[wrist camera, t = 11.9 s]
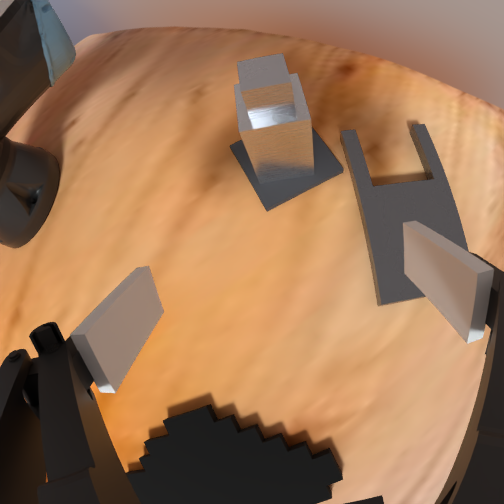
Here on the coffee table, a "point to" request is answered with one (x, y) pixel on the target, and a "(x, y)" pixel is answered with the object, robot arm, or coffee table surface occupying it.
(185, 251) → the coffee table surface
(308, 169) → the stepped metal tower
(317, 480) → the decorative item
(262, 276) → the coffee table surface
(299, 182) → the pad
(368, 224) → the slotted plate
